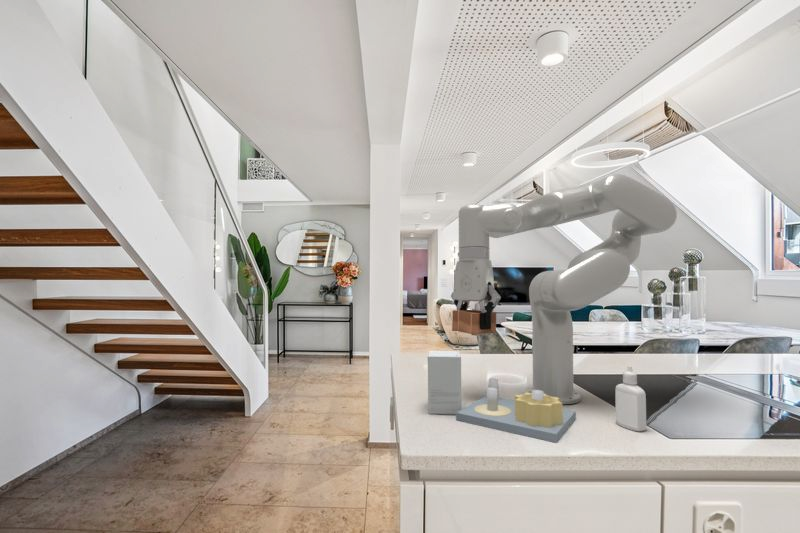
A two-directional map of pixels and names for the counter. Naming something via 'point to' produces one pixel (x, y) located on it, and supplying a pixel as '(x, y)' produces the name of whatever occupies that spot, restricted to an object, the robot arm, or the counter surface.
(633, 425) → the eye dropper bottle
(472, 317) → the brown open boxy piece
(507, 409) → the gear board
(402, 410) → the counter surface
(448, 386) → the supplement box
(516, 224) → the robot arm
